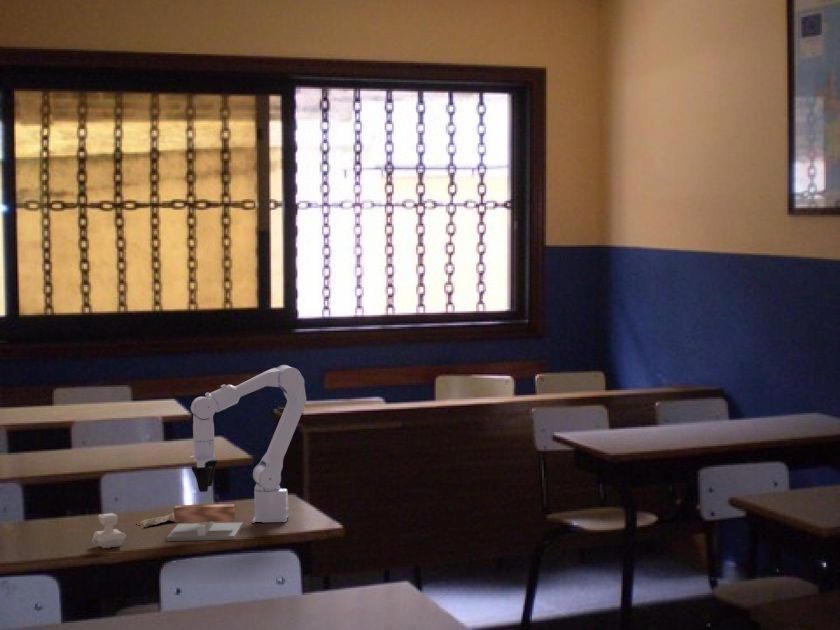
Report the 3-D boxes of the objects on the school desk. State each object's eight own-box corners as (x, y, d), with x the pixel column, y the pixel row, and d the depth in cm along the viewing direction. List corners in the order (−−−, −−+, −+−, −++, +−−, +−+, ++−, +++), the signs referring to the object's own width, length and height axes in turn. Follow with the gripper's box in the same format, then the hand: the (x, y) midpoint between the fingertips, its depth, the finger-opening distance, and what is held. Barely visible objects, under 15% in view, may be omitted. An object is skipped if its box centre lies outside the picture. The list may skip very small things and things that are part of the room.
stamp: (95, 551, 329) (94, 519, 328) (88, 546, 335) (87, 514, 334) (130, 546, 333) (128, 515, 333) (122, 541, 339) (121, 510, 338)
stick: (235, 518, 348) (234, 504, 348) (233, 521, 345) (233, 506, 345) (176, 519, 348) (176, 505, 348) (174, 522, 345) (174, 507, 345)
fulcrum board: (243, 525, 355) (242, 513, 354) (234, 539, 339) (234, 526, 338) (178, 527, 355) (178, 514, 354) (166, 540, 339) (166, 527, 339)
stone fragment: (215, 517, 371) (192, 513, 377) (215, 508, 371) (191, 504, 377) (148, 533, 351) (124, 529, 357) (148, 523, 351) (124, 518, 357)
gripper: (193, 436, 362) (195, 484, 363) (184, 444, 347) (186, 494, 348) (218, 436, 362) (220, 483, 363) (210, 444, 347) (212, 493, 348)
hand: (205, 488), depth 355 cm, fingers open, 7 cm apart
